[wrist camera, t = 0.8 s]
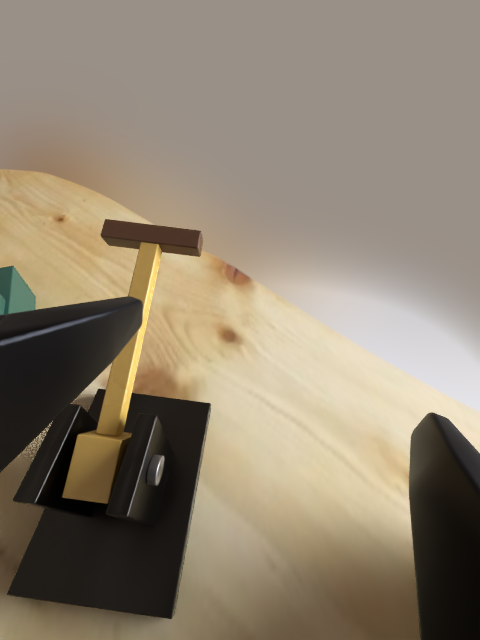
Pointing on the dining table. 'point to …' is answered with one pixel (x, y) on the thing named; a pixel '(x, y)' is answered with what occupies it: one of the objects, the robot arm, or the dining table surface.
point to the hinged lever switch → (116, 511)
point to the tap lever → (123, 361)
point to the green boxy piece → (14, 292)
